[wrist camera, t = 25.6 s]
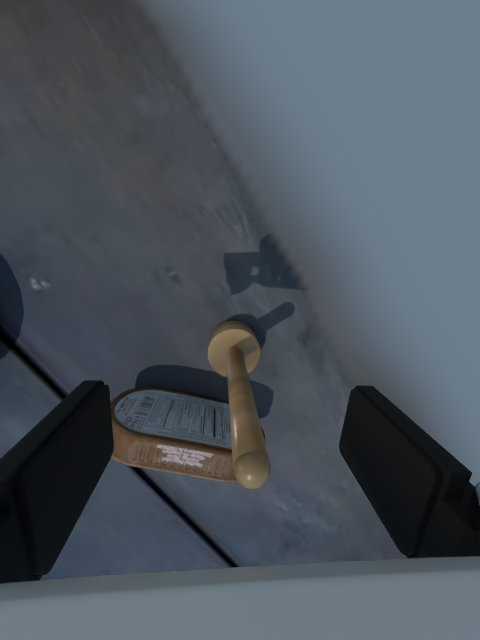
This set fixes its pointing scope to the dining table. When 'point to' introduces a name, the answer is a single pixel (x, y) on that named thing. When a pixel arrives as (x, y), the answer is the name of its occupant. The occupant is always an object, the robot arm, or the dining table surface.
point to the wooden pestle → (241, 400)
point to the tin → (173, 433)
